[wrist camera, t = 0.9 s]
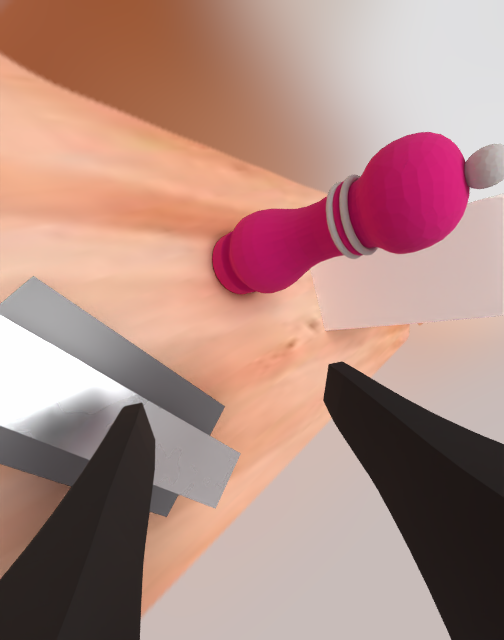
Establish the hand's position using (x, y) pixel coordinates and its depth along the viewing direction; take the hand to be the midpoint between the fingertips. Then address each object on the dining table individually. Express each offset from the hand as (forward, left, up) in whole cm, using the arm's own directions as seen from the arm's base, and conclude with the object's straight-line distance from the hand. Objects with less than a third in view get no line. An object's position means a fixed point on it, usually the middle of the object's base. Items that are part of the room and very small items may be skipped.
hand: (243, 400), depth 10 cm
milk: (+26, -16, -13) cm, 33 cm away
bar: (-3, +1, -12) cm, 12 cm away
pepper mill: (+14, -1, -13) cm, 19 cm away
